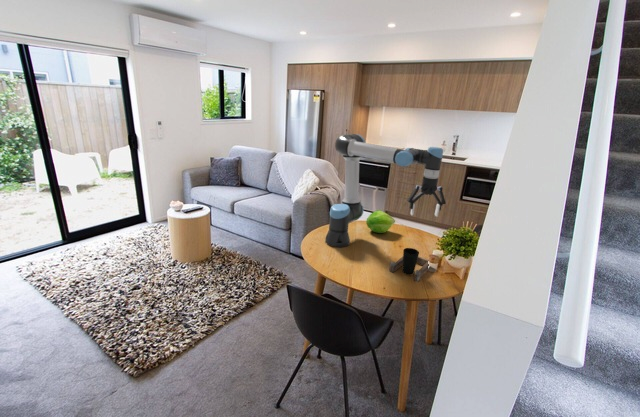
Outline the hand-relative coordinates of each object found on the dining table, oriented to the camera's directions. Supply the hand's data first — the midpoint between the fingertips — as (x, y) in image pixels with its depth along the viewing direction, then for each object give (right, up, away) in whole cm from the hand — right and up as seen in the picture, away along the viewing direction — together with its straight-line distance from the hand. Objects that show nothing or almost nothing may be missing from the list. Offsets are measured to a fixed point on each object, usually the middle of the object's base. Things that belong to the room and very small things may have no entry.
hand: (423, 215), depth 169 cm
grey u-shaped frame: (-9, -28, -6) cm, 30 cm away
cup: (-11, -29, -8) cm, 33 cm away
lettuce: (-16, -12, +43) cm, 48 cm away
